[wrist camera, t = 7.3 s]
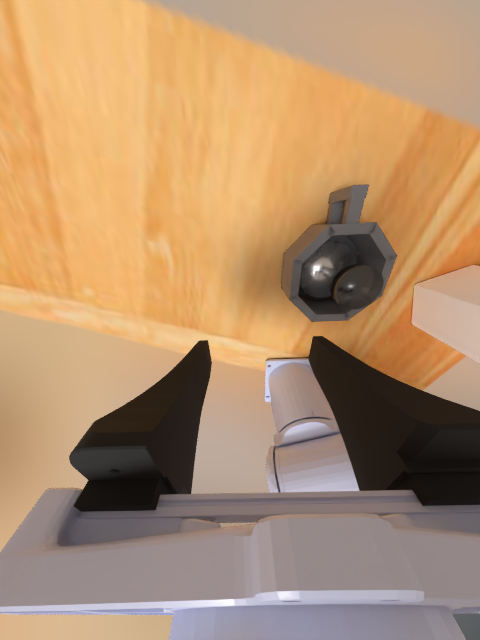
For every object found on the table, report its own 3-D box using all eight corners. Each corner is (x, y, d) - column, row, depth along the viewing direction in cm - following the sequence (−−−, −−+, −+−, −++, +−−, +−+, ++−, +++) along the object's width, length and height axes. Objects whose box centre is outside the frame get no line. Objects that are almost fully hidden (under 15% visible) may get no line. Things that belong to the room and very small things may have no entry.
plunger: (344, 294, 20) (385, 321, 15) (293, 296, 20) (314, 324, 15) (359, 239, 17) (417, 245, 12) (300, 242, 18) (328, 250, 12)
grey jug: (351, 304, 21) (373, 319, 18) (279, 307, 22) (287, 322, 18) (384, 190, 16) (425, 181, 12) (287, 195, 16) (300, 187, 13)
